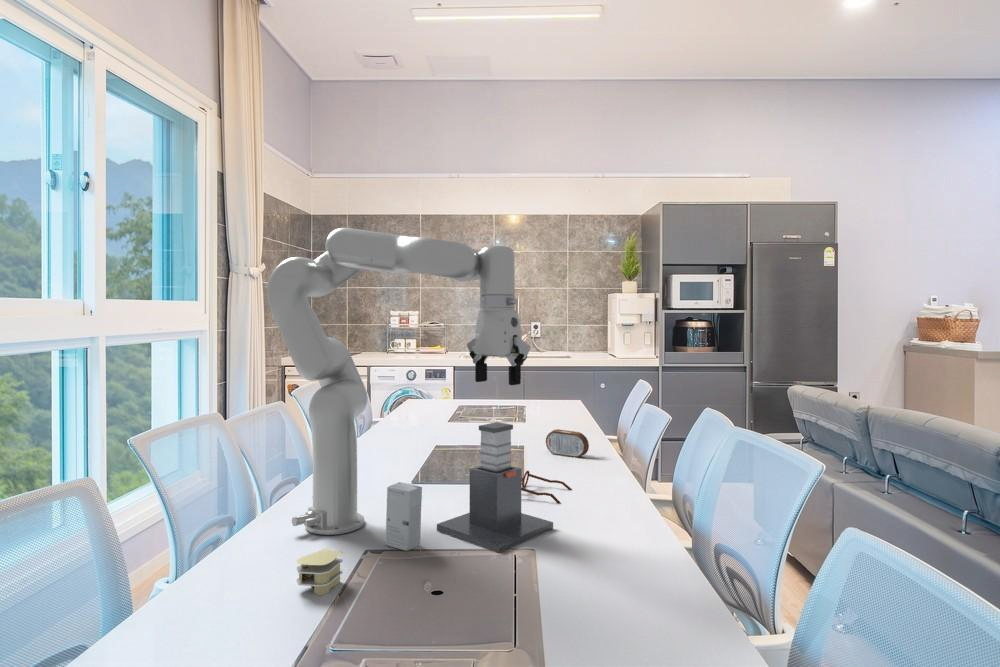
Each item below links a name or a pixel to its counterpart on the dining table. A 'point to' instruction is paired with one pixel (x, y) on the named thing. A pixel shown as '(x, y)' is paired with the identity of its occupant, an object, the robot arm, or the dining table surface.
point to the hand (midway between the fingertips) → (497, 383)
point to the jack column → (496, 447)
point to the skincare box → (403, 516)
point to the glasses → (543, 480)
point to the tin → (567, 443)
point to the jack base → (495, 513)
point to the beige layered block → (320, 570)
